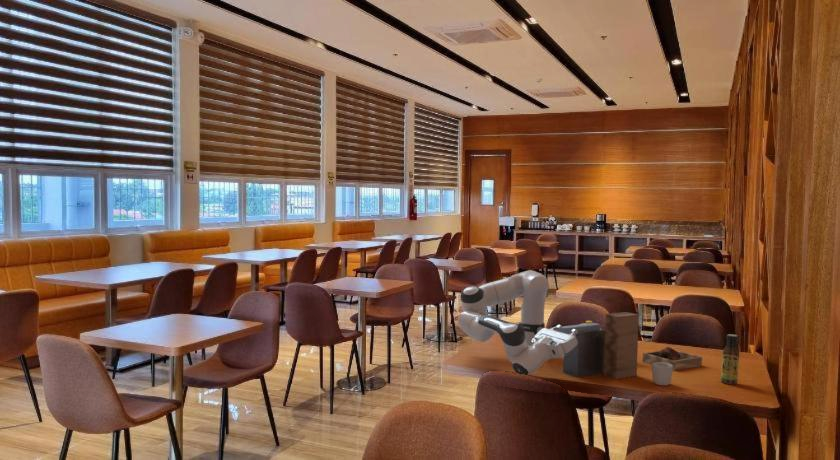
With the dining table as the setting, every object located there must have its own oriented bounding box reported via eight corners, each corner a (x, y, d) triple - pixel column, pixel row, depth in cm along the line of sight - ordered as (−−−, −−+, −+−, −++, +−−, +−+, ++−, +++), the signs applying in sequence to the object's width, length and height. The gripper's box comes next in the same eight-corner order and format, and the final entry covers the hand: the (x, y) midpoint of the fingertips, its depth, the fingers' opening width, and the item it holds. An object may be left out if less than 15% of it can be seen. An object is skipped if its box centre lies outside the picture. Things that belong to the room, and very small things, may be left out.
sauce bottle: (719, 383, 262) (721, 335, 261) (721, 380, 267) (723, 332, 266) (737, 386, 259) (739, 337, 258) (738, 382, 264) (740, 334, 263)
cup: (644, 379, 266) (645, 360, 266) (663, 379, 267) (664, 360, 267) (656, 387, 256) (657, 367, 255) (675, 386, 256) (676, 367, 256)
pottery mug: (658, 359, 303) (668, 345, 301) (675, 372, 297) (685, 357, 295) (649, 357, 293) (660, 343, 292) (667, 370, 287) (678, 355, 286)
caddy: (642, 361, 296) (642, 353, 296) (670, 357, 305) (670, 349, 305) (673, 370, 281) (673, 361, 281) (701, 365, 291) (702, 356, 290)
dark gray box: (563, 372, 275) (564, 329, 274) (592, 367, 284) (594, 326, 283) (577, 377, 268) (578, 333, 267) (607, 372, 277) (608, 329, 276)
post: (603, 375, 272) (605, 314, 270) (623, 371, 278) (625, 312, 276) (616, 379, 266) (618, 316, 264) (636, 375, 272) (638, 314, 270)
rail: (559, 335, 270) (559, 326, 269) (594, 330, 280) (594, 322, 279) (564, 336, 267) (565, 328, 266) (599, 332, 277) (600, 324, 276)
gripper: (532, 348, 274) (554, 329, 280) (565, 359, 256) (588, 339, 262) (526, 336, 272) (548, 317, 278) (560, 346, 254) (582, 326, 260)
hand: (568, 328), depth 270 cm, fingers open, 8 cm apart
